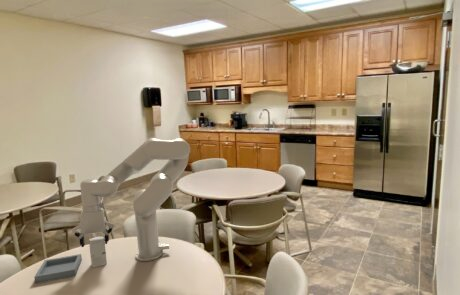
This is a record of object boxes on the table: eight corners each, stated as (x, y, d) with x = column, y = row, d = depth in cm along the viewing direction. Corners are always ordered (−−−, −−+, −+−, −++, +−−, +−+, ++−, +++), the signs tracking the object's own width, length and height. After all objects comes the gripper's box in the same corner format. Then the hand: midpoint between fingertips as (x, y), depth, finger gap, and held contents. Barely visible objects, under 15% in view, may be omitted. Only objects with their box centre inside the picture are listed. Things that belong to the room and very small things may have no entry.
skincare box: (92, 268, 132) (89, 242, 130) (91, 264, 136) (88, 239, 134) (107, 263, 135) (104, 238, 134) (105, 259, 139) (102, 235, 137)
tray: (81, 259, 140) (81, 253, 140) (75, 276, 127) (74, 269, 126) (45, 266, 136) (44, 260, 135) (35, 283, 123) (34, 276, 122)
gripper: (113, 202, 138) (116, 238, 140) (72, 207, 133) (75, 243, 135) (112, 208, 130) (114, 245, 133) (68, 212, 126) (71, 251, 128)
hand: (94, 244), depth 134 cm, fingers open, 9 cm apart
